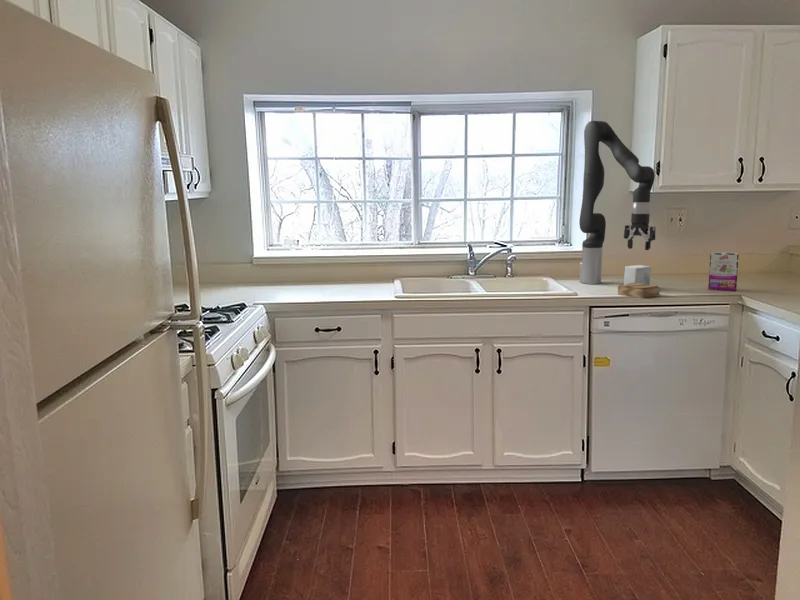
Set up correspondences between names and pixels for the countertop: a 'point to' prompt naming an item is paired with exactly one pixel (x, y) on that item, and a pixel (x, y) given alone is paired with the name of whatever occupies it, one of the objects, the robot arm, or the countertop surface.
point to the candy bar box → (723, 271)
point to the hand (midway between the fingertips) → (638, 249)
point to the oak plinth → (638, 290)
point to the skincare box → (637, 274)
